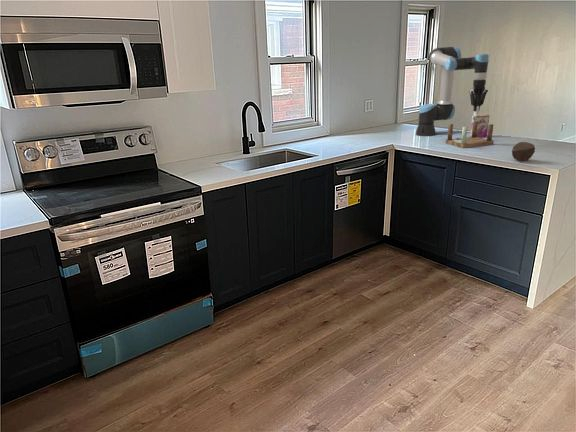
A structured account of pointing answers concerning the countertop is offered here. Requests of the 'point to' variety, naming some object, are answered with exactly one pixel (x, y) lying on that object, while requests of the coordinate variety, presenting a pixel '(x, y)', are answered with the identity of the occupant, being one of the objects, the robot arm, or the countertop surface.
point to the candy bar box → (480, 125)
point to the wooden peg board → (472, 140)
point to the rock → (523, 151)
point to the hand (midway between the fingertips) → (475, 115)
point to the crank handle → (464, 135)
